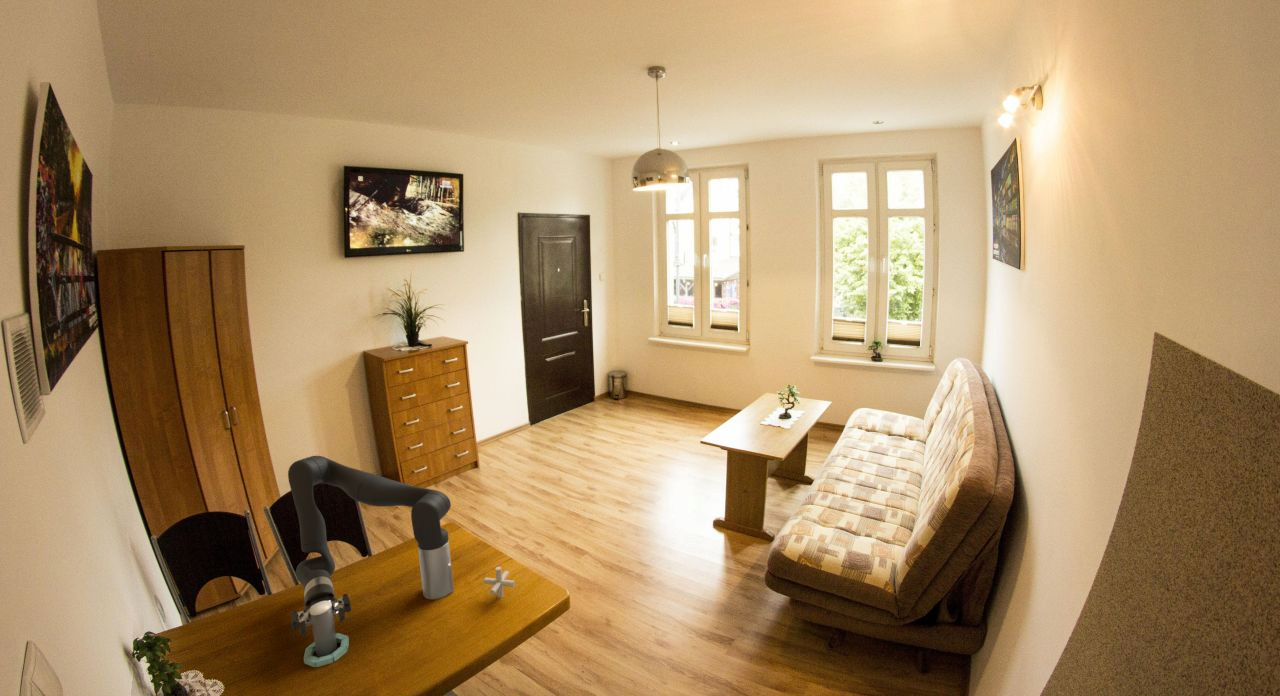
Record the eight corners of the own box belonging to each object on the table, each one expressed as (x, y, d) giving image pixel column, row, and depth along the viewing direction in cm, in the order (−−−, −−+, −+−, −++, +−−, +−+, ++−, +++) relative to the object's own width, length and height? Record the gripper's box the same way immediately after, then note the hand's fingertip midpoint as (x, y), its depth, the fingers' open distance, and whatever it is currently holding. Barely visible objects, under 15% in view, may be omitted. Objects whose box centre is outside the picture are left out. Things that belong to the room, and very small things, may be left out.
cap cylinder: (338, 642, 149) (332, 598, 146) (336, 655, 144) (330, 609, 142) (317, 648, 147) (310, 604, 144) (314, 661, 142) (308, 615, 140)
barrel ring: (349, 634, 152) (349, 629, 152) (346, 658, 143) (346, 653, 143) (308, 645, 148) (307, 640, 148) (302, 671, 139) (301, 666, 138)
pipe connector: (508, 608, 162) (506, 579, 160) (478, 604, 164) (476, 576, 162) (521, 588, 171) (519, 560, 170) (493, 585, 173) (491, 557, 172)
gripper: (288, 593, 151) (290, 624, 138) (345, 575, 159) (351, 603, 146) (292, 616, 152) (294, 649, 139) (347, 597, 160) (354, 627, 147)
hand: (323, 626), depth 142 cm, fingers open, 8 cm apart
